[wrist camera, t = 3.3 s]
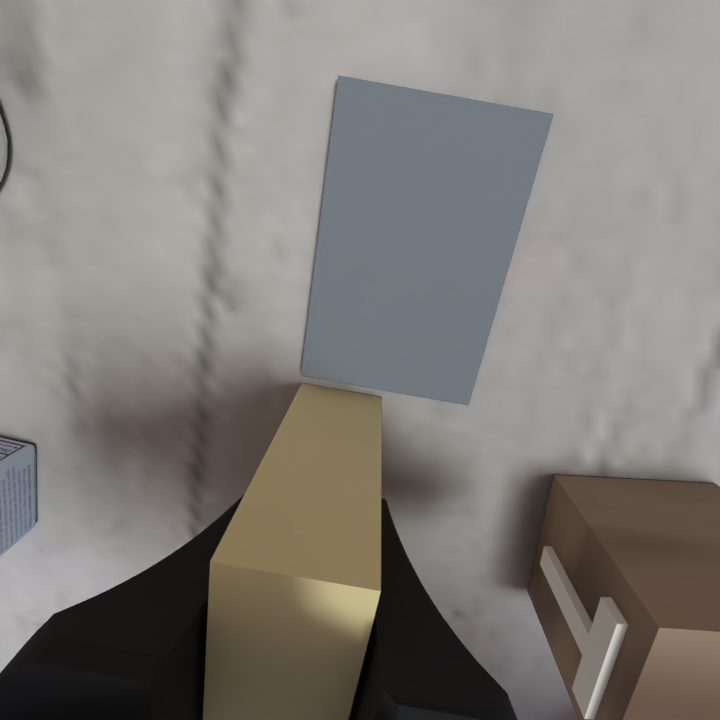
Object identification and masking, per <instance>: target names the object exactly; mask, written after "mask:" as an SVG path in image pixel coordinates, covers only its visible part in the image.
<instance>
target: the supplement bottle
mask: <svg viewBox="0 0 720 720" xmlns="http://www.w3.org/2000/svg"><path fill="white" fill-rule="evenodd" d="M6 163H7V136H6V132H5V128H4V124H3V121H2V118H1V115H0V183H1V180H2V178H3V175H4V172H5V169H6Z"/></svg>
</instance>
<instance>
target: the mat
mask: <svg viewBox="0 0 720 720" xmlns="http://www.w3.org/2000/svg"><path fill="white" fill-rule="evenodd" d="M552 117H553V114H550V113H545V112H539V111H533V110H528V109H522V108H517V107H511V106H506V105H500V104H494V103H489V102H483V101H478V100H472V99H467V98H461V97H455V96H450V95H444V94H439V93H433V92H427V91H422V90H416V89H411V88H405V87H400V86H394V85H388V84H383V83H377V82H372V81H366V80H360V79H355V78H349V77H344V76H338V80H337V89H336V97H335V105H334V113H333V121H332V129H331V137H330V145H329V153H328V161H327V169H326V177H325V185H324V193H323V201H322V209H321V217H320V225H319V233H318V241H317V249H316V257H315V265H314V273H313V281H312V289H311V297H310V305H309V313H308V321H307V329H306V337H305V345H304V353H303V362H302V370H301V376H304V377H310V378H316V379H321V380H327V381H333V382H338V383H344V384H350V385H355V386H361V387H367V388H372V389H378V390H384V391H389V392H395V393H401V394H406V395H412V396H417V397H423V398H429V399H434V400H440V401H446V402H451V403H457V404H463V405H469V402H470V398H471V395H472V391H473V388H474V385H475V381H476V378H477V374H478V371H479V367H480V364H481V361H482V357H483V354H484V350H485V347H486V343H487V340H488V337H489V333H490V330H491V326H492V323H493V319H494V316H495V313H496V309H497V306H498V302H499V299H500V295H501V292H502V289H503V285H504V282H505V278H506V275H507V271H508V268H509V265H510V261H511V258H512V254H513V251H514V248H515V244H516V241H517V237H518V234H519V230H520V227H521V224H522V220H523V217H524V213H525V210H526V206H527V203H528V200H529V196H530V193H531V189H532V186H533V182H534V179H535V176H536V172H537V169H538V165H539V162H540V158H541V155H542V152H543V148H544V145H545V141H546V138H547V134H548V131H549V128H550V124H551V121H552Z"/></svg>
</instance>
